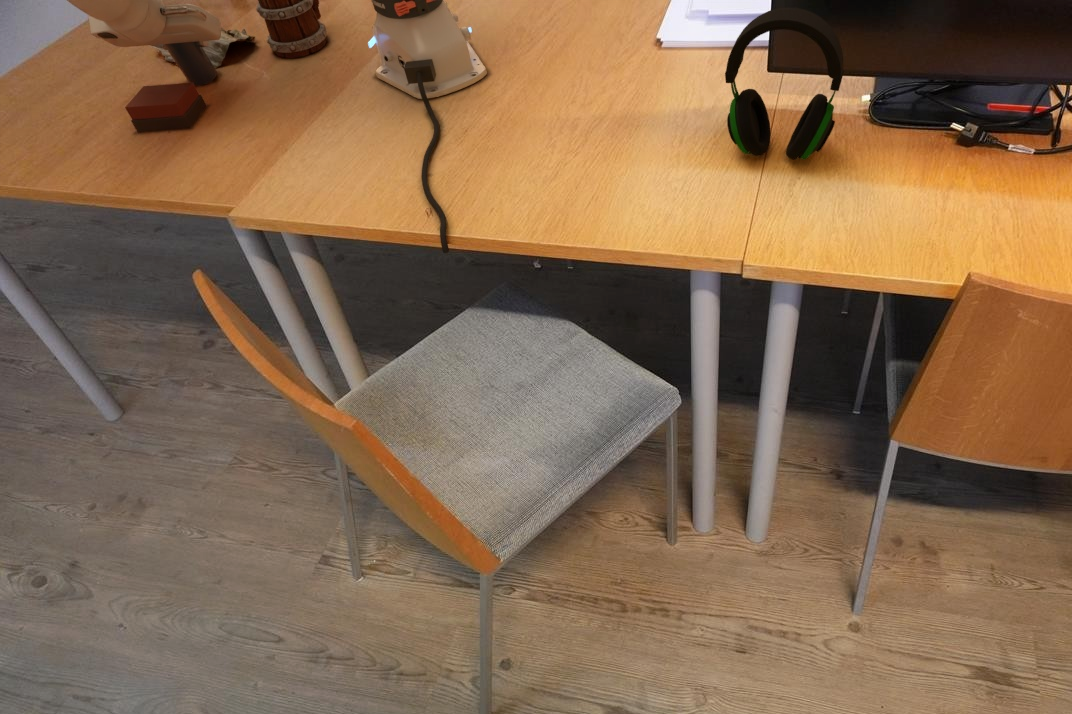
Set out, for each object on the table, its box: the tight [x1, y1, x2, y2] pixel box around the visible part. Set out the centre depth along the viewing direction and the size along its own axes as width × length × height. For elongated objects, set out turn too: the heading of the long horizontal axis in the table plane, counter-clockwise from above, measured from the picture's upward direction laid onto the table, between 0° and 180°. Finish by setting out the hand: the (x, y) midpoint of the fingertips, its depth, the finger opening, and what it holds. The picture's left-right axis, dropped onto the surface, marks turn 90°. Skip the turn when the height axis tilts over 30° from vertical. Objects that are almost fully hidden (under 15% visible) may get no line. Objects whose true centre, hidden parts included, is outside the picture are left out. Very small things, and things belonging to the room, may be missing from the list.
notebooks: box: [124, 82, 208, 133], centre depth 138 cm, size 8×10×5 cm
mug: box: [255, 0, 328, 59], centre depth 152 cm, size 12×14×15 cm
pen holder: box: [164, 42, 218, 87], centre depth 145 cm, size 6×6×10 cm
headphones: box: [724, 6, 845, 161], centre depth 107 cm, size 9×16×20 cm, turn 71°
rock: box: [149, 26, 256, 69], centre depth 156 cm, size 23×7×15 cm
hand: (186, 44), depth 145 cm, fingers closed on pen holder, 5 cm apart
